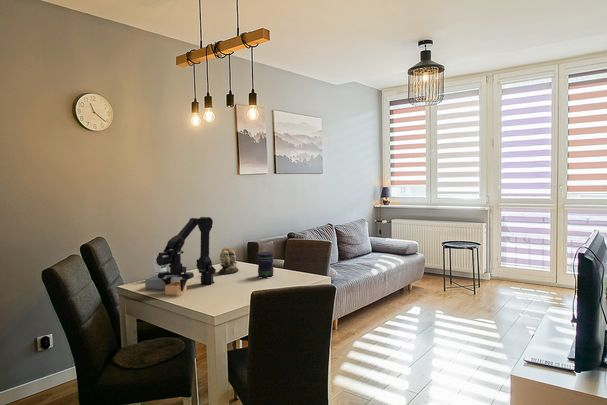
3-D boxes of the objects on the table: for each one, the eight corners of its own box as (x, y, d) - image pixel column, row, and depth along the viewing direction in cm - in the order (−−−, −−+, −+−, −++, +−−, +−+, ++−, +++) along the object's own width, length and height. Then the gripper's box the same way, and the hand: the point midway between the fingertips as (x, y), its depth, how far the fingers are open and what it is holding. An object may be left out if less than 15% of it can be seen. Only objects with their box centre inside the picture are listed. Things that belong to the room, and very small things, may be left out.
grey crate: (183, 283, 245) (182, 273, 245) (168, 290, 229) (168, 279, 229) (161, 282, 248) (161, 272, 248) (145, 289, 232) (145, 278, 232)
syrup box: (160, 280, 253) (159, 257, 252) (154, 279, 256) (153, 256, 255) (168, 278, 258) (167, 256, 257) (161, 277, 261) (161, 255, 260)
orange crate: (186, 290, 228) (186, 281, 228) (177, 295, 218) (177, 286, 218) (175, 290, 230) (174, 281, 229) (165, 294, 220) (165, 285, 220)
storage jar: (276, 276, 259) (276, 253, 258) (262, 279, 253) (262, 255, 252) (268, 274, 267) (268, 251, 266) (255, 276, 261) (254, 253, 261)
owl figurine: (230, 275, 265) (230, 249, 264) (214, 274, 268) (213, 248, 267) (241, 269, 282) (241, 245, 281) (226, 269, 285) (225, 244, 284)
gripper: (198, 260, 229) (198, 287, 230) (167, 259, 233) (168, 286, 234) (188, 264, 218) (189, 293, 219) (156, 263, 222) (157, 291, 223)
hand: (176, 290), depth 224 cm, fingers closed on orange crate, 7 cm apart
